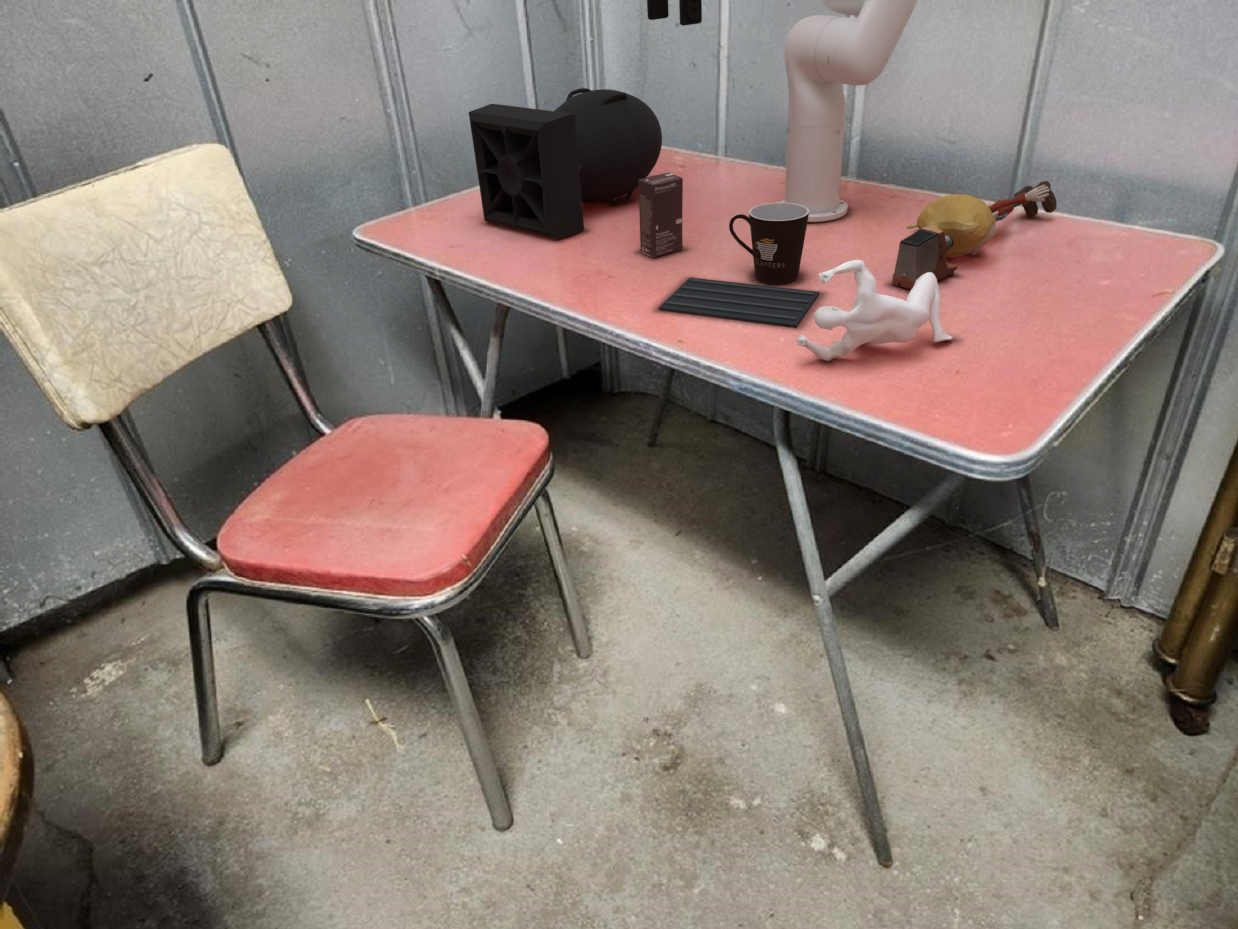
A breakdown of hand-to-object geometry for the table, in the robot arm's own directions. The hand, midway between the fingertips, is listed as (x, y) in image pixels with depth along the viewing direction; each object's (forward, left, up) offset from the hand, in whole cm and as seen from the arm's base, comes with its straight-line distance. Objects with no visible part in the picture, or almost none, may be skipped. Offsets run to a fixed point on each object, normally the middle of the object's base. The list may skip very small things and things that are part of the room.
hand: (674, 21), depth 124 cm
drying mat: (+16, +16, -34) cm, 41 cm away
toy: (-19, +45, -34) cm, 60 cm away
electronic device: (+1, +39, -34) cm, 52 cm away
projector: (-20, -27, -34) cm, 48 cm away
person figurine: (+27, +37, -34) cm, 57 cm away
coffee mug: (+5, +17, -34) cm, 39 cm away
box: (0, -3, -34) cm, 35 cm away
